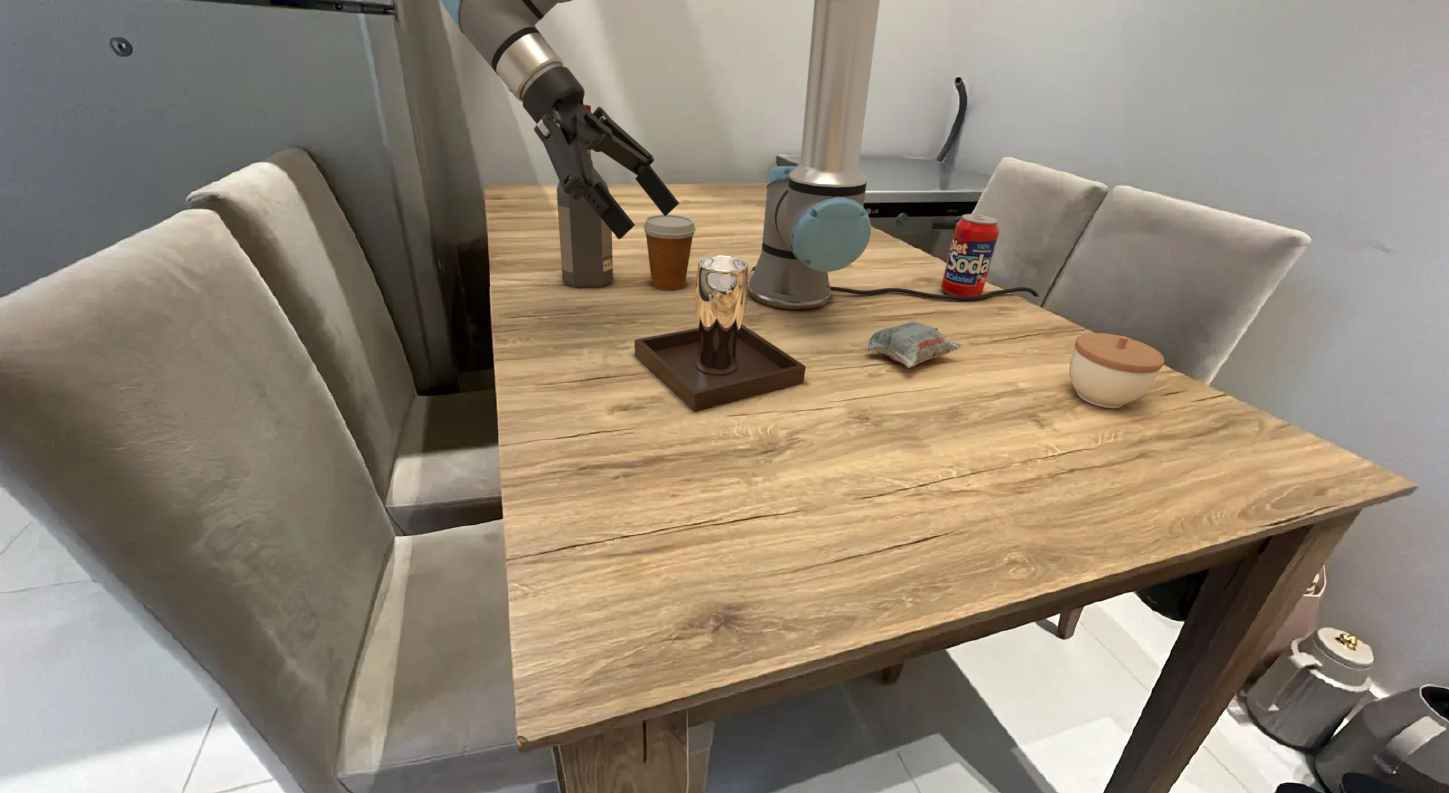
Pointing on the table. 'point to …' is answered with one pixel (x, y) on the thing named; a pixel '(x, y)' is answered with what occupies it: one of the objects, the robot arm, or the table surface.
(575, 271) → the liquor
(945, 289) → the soda can
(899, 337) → the packaged food
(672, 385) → the serving tray
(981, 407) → the table surface
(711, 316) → the beer glass
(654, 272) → the disposable coffee cup
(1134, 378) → the trinket box
